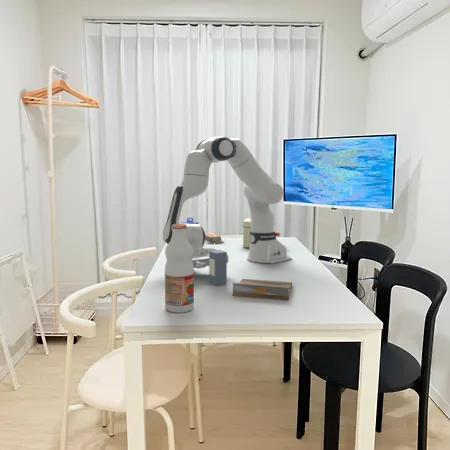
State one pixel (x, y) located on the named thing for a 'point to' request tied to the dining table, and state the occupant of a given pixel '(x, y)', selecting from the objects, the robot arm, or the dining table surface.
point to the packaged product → (212, 238)
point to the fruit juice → (179, 272)
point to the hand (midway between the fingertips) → (214, 264)
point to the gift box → (246, 232)
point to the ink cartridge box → (190, 221)
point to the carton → (217, 267)
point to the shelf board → (262, 289)
